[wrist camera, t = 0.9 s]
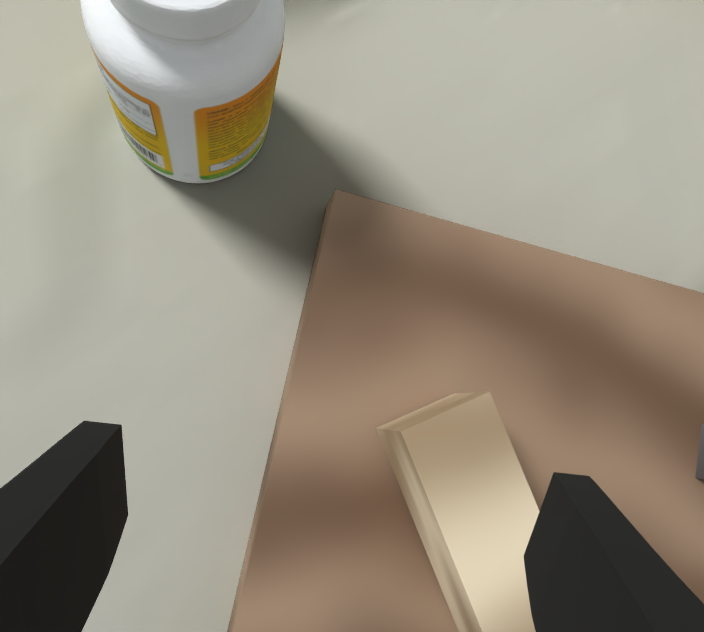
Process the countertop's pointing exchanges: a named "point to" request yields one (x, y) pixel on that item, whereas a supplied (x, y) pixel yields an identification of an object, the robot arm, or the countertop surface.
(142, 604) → the countertop surface
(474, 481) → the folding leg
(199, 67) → the supplement bottle
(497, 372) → the wooden board
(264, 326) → the countertop surface
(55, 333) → the countertop surface
